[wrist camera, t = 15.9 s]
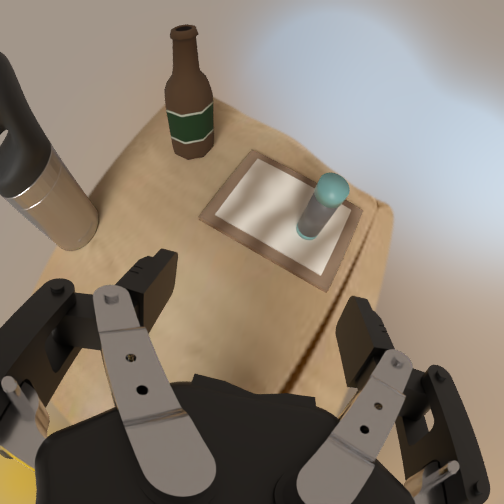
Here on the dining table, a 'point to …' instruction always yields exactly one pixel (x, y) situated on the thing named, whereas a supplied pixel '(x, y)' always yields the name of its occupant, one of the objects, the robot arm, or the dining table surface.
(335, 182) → the teal-capped glass tube
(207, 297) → the dining table surface
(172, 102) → the beer bottle
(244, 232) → the writing board
